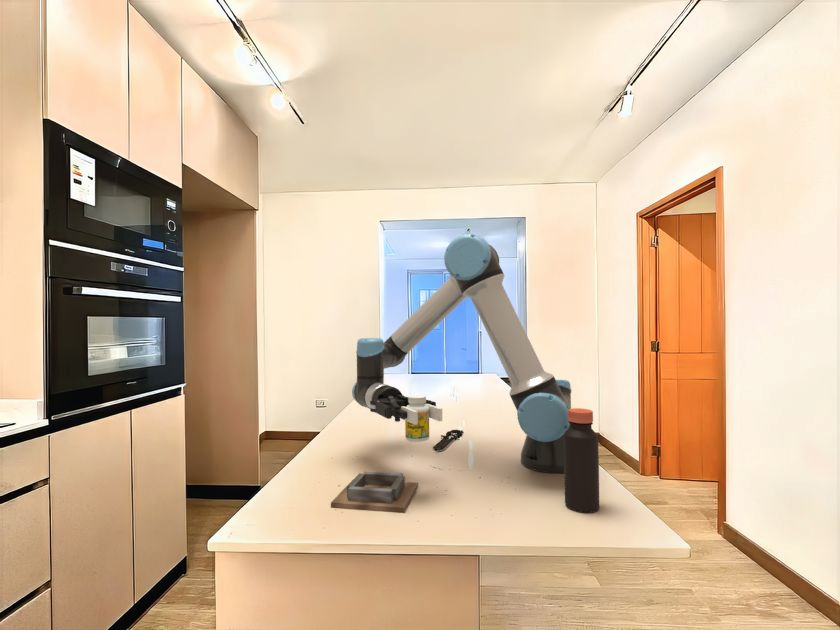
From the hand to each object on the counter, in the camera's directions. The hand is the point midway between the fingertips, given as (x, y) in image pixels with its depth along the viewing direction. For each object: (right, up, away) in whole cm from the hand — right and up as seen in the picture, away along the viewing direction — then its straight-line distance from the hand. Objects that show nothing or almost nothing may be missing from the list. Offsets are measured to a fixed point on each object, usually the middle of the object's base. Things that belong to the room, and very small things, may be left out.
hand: (428, 416), depth 94 cm
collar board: (-11, -19, +4) cm, 23 cm away
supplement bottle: (-2, -6, +4) cm, 8 cm away
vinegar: (+32, -19, -2) cm, 37 cm away
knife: (+7, -20, +49) cm, 53 cm away
